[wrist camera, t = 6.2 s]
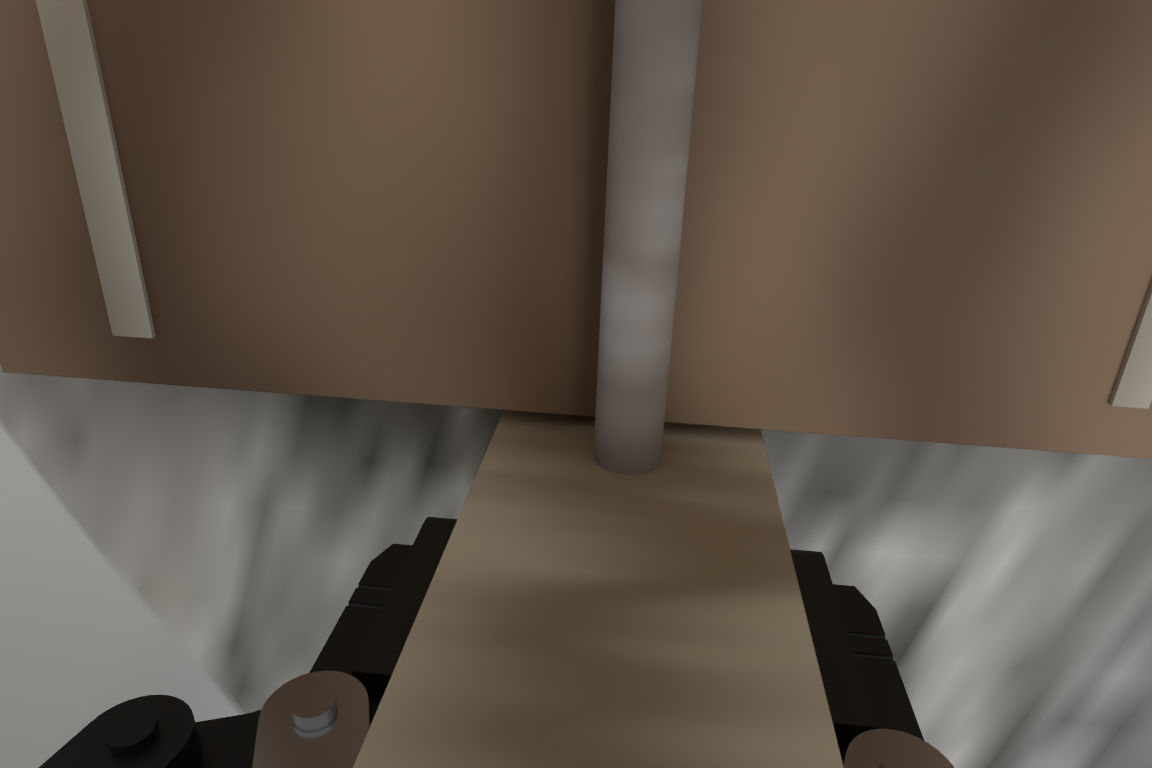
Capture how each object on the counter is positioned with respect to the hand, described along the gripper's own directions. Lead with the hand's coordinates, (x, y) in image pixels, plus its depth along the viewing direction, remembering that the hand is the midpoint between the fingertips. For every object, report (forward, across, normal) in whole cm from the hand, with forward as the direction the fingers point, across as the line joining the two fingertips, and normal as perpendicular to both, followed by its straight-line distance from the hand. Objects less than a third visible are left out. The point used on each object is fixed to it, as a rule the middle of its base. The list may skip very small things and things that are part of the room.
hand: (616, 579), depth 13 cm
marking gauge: (+4, 0, -5) cm, 6 cm away
